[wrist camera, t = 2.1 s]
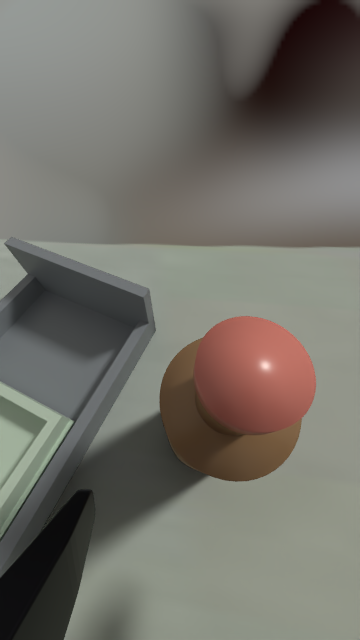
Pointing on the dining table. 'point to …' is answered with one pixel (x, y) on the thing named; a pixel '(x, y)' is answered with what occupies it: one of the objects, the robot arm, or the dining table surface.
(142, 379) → the dining table surface
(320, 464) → the dining table surface
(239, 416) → the vinegar bottle
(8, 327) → the dock
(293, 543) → the dining table surface
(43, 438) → the tray
